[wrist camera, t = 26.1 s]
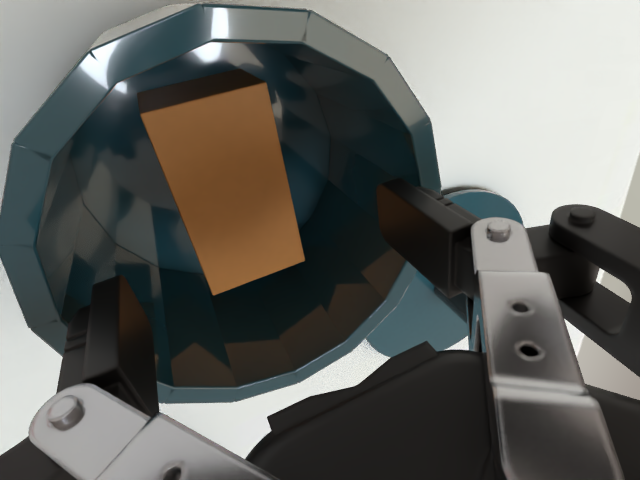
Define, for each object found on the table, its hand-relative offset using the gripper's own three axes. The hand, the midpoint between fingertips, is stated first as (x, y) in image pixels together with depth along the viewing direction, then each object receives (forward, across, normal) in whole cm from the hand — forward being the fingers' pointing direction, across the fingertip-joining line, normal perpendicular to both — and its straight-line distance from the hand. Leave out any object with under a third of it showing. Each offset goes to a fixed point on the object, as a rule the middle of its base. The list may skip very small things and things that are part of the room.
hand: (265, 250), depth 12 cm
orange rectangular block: (+8, 0, 0) cm, 8 cm away
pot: (+9, 0, 0) cm, 9 cm away
